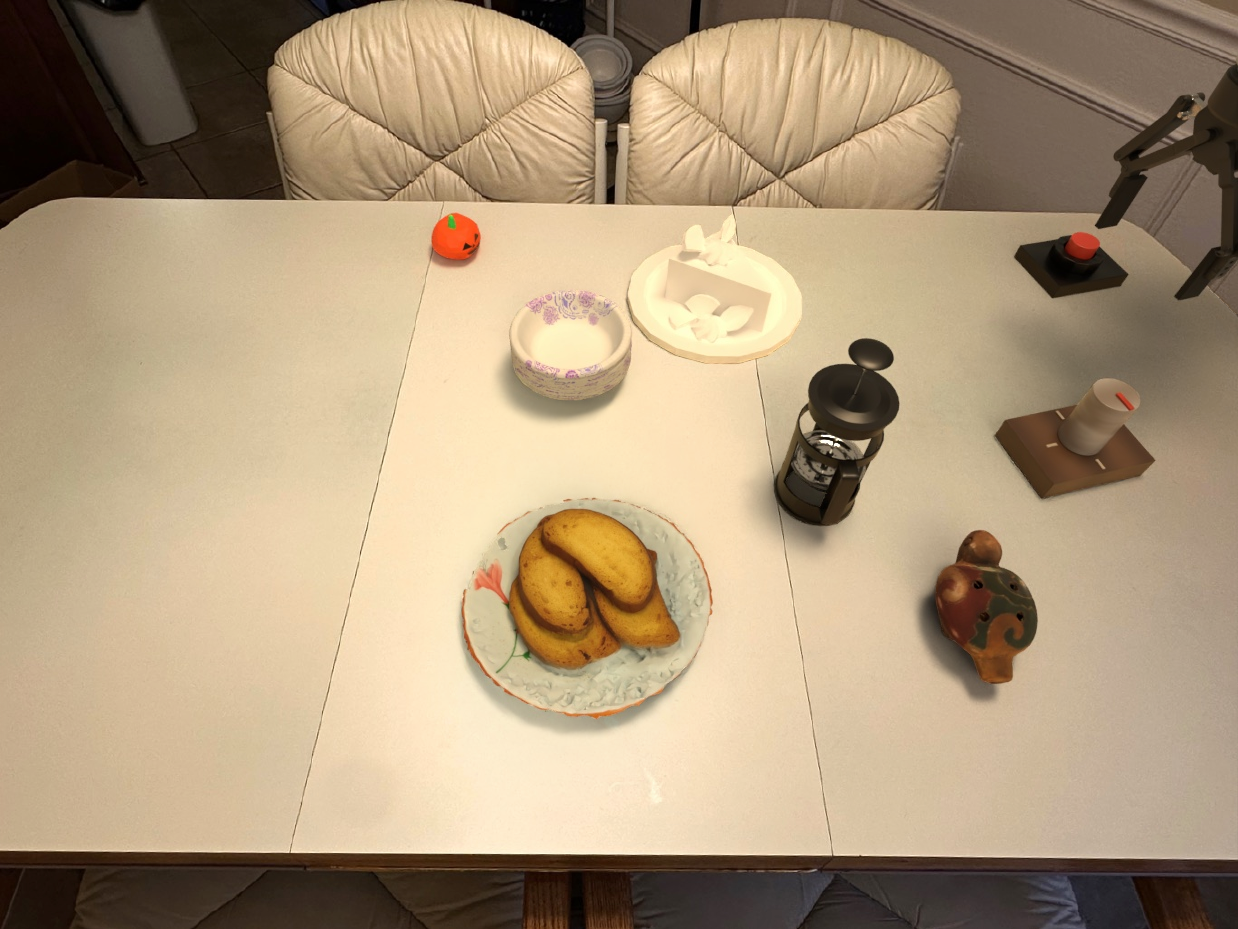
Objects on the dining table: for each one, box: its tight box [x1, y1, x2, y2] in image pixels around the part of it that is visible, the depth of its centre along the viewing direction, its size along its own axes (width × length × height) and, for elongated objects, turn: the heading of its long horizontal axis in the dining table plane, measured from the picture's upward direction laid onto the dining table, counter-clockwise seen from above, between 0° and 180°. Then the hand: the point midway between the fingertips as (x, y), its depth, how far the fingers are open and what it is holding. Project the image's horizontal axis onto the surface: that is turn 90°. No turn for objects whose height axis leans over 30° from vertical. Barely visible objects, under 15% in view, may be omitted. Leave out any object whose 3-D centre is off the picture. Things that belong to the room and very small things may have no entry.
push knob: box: [1065, 231, 1101, 260], centre depth 110 cm, size 4×4×2 cm
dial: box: [1058, 377, 1141, 456], centre depth 86 cm, size 5×5×8 cm
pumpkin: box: [430, 212, 482, 260], centre depth 110 cm, size 7×8×6 cm
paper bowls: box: [508, 289, 633, 401], centre depth 95 cm, size 15×15×8 cm
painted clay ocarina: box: [934, 529, 1039, 685], centre depth 75 cm, size 10×15×8 cm, turn 1°
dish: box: [627, 213, 803, 364], centre depth 102 cm, size 25×25×11 cm
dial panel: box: [994, 403, 1156, 499], centre depth 90 cm, size 14×10×3 cm
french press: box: [773, 337, 901, 527], centre depth 78 cm, size 12×9×23 cm
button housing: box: [1013, 234, 1130, 299], centre depth 112 cm, size 12×10×4 cm
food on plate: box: [461, 497, 714, 720], centre depth 75 cm, size 25×25×7 cm
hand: (1143, 259), depth 87 cm, fingers open, 13 cm apart
